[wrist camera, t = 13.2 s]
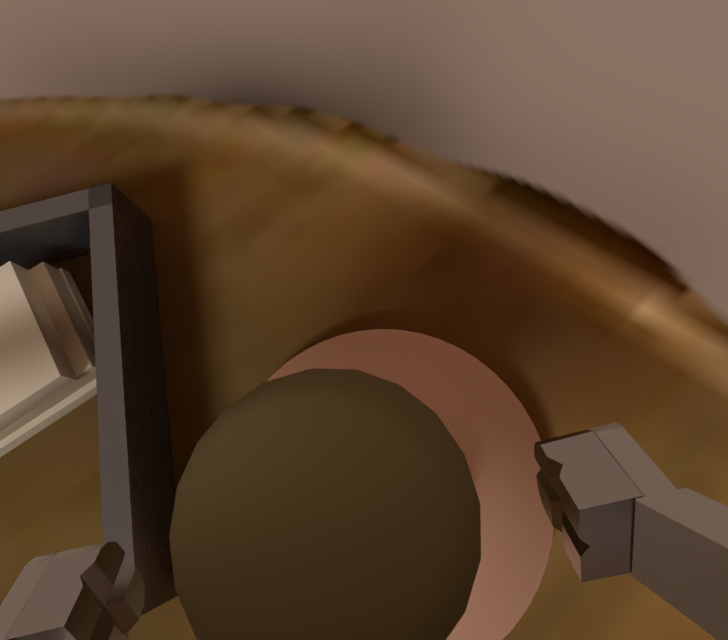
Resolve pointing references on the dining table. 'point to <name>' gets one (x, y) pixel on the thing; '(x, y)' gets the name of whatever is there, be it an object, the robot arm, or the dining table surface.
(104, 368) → the grey u-shaped frame
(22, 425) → the offcut stack
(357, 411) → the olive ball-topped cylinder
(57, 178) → the dining table surface
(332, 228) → the dining table surface
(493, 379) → the pink round disc
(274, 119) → the dining table surface
